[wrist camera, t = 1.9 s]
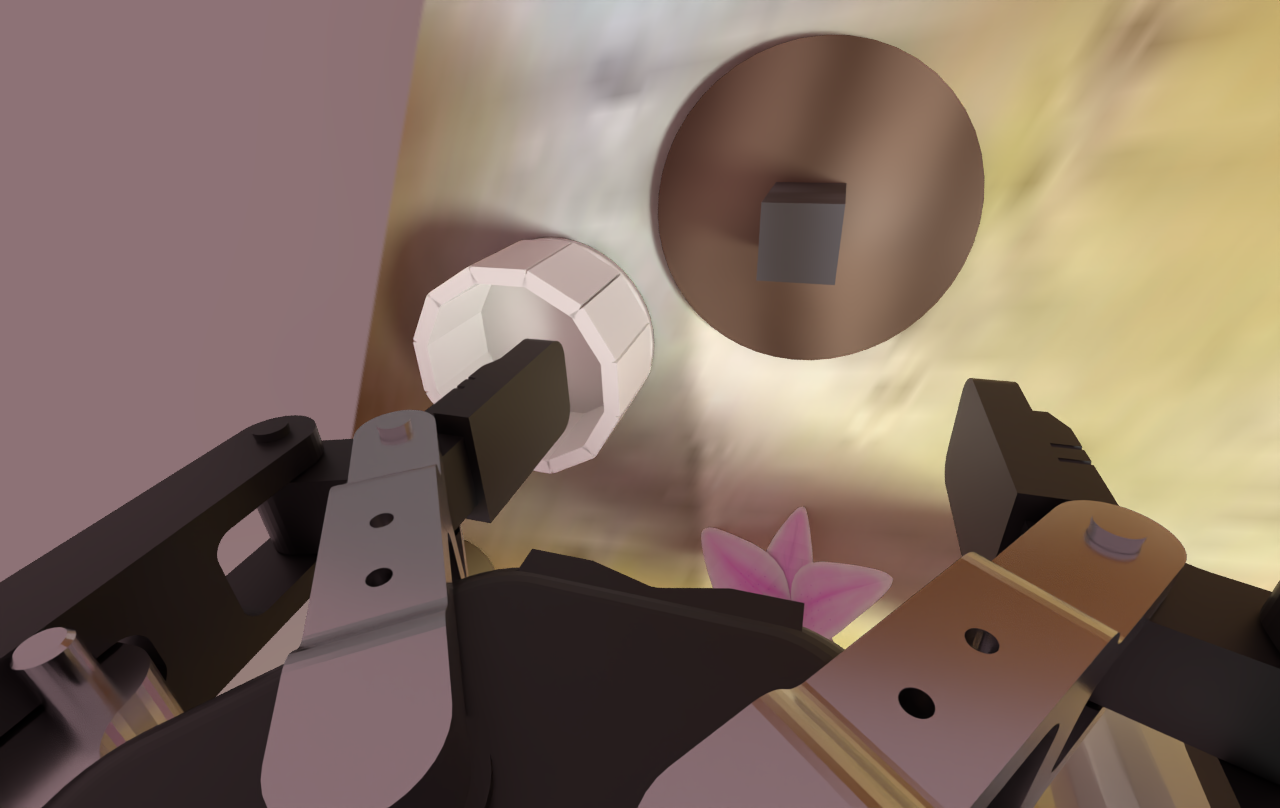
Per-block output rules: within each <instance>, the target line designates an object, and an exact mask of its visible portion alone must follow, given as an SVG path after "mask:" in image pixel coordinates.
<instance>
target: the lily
mask: <svg viewBox="0 0 1280 808" xmlns="http://www.w3.org/2000/svg"><path fill="white" fill-rule="evenodd" d="M701 542H702V549H703V555H704V559H705V563H706V567H707V571H708V574H709V577H710V580H711V583H712V586H713V588H731V589H736V590H741V591H746V592H751V593H756V594H761V595H766V596H771V597H776V598H781V599H786V600H791V601H797V602H802V603H805V604H804V615H803V627H806V628H808V629H810V630H812V631H814V632H816V633H818V634H820V635H822V636H824V637H825V638H827V639H829V640H831V641H833V640H832V637H834V636H835V635H836V634H838V633H839V632H840V631H842V630H843V629H844V628H845V627H846V626H848V625H849V624H850V623H851V622H852V621H854V620H855V619H856V618H857V617H859V616H860V615H861V614H862V613H863V612H865V611H866V610H867V609H868V608H870V607H871V606H872V605H873V604H874V603H875V602H876V601H878V600H879V599H880V598H881V597H882V596H883V595H884V594H885V593H886V592H887V591H888V589H889V588H890V587H891V585H892V581H893V578H892V577H891V576H890V575H889V574H888V573H886V572H883V571H880V570H877V569H874V568H868V567H863V566H857V565H850V564H843V563H834V562H822V561H821V562H813V554H812V543H811V534H810V527H809V520H808V515H807V511H806V508H805V507H804V506H803V507H798V508H797V509H796V510H795V511H794V512H793V513H792V514H791V515H790V516H789V517H788V519H787V520H786V521H785V522H784V524H783V525H782V526H781V528H780V529H779V530H778V532H777V533H776V535H775V536H774V538H773V539H772V541H771V543H770V545H769V546H768V548H767V551H764V550H763V549H761V548H760V547H758V546H756V545H755V544H753V543H751V542H749V541H746V540H744V539H742V538H740V537H737V536H735V535H733V534H730V533H728V532H725V531H722V530H720V529H717V528H712V527H708V528H706V529H704V530H702V533H701Z"/></svg>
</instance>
